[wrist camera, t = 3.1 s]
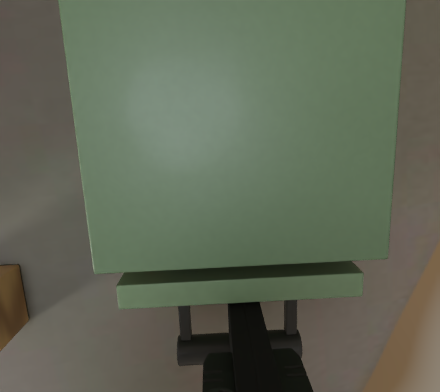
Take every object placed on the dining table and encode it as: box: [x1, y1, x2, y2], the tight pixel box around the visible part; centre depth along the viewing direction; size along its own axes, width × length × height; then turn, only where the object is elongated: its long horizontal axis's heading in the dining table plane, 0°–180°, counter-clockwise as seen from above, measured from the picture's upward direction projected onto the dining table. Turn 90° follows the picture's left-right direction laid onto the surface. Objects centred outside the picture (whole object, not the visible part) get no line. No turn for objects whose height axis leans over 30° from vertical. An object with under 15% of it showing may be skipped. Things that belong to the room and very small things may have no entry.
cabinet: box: [58, 0, 406, 274], centre depth 17 cm, size 15×13×10 cm
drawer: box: [116, 261, 364, 366], centre depth 18 cm, size 19×11×8 cm, turn 2°
